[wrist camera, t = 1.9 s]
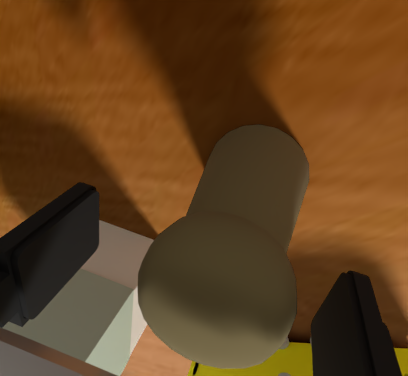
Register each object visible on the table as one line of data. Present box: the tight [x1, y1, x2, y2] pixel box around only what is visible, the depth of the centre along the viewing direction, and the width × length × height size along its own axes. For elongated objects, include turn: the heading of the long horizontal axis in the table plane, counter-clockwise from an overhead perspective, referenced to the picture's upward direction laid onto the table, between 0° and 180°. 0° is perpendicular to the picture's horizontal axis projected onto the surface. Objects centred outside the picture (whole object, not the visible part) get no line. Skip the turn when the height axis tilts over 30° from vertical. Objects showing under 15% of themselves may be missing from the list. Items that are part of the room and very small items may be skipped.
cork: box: [138, 124, 309, 369], centre depth 13 cm, size 6×6×11 cm
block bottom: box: [81, 220, 154, 355], centre depth 23 cm, size 8×8×5 cm
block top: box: [2, 268, 134, 376], centre depth 19 cm, size 8×8×5 cm
